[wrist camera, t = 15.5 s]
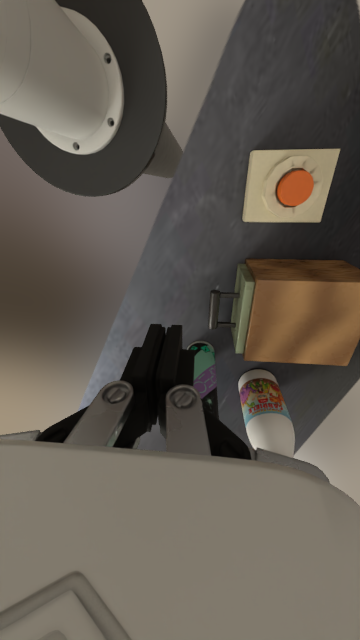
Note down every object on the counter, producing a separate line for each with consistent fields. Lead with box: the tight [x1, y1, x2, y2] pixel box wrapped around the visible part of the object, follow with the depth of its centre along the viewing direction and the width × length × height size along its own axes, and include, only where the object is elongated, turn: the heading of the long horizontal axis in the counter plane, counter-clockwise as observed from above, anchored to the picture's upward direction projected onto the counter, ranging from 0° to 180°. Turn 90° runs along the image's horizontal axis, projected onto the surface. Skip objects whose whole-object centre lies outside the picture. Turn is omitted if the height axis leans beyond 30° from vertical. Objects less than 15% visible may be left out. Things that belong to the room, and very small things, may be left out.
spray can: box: [187, 341, 219, 420], centre depth 38 cm, size 6×6×20 cm
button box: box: [242, 149, 340, 222], centre depth 30 cm, size 10×8×4 cm
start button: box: [277, 170, 314, 206], centre depth 28 cm, size 4×4×2 cm
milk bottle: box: [238, 369, 295, 458], centre depth 40 cm, size 8×8×20 cm
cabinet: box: [242, 259, 360, 366], centre depth 35 cm, size 15×13×10 cm
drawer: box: [208, 264, 256, 353], centre depth 35 cm, size 18×11×8 cm, turn 90°
